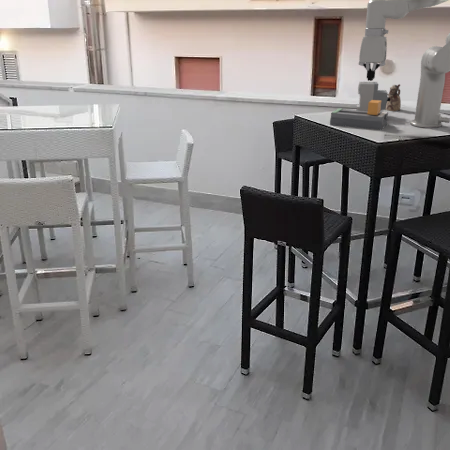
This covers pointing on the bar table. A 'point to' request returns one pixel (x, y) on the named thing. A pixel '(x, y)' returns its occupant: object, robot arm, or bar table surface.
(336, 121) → the switch panel
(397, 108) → the figurine
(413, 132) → the bar table surface
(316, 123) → the bar table surface
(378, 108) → the toggle
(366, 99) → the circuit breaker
